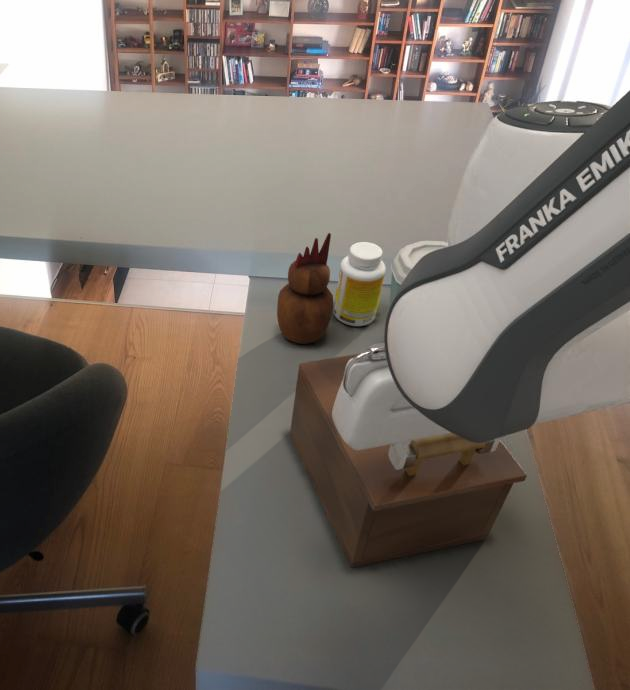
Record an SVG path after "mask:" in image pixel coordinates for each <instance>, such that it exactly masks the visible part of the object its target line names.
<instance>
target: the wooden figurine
mask: <svg viewBox="0 0 630 690" xmlns="http://www.w3.org/2000/svg"><path fill="white" fill-rule="evenodd" d="M331 238H332V234H331V233H330V232H328V233H327V235H326V237H325V239H324V241H323V243H322V245H321V247H320V249H319V239H318V237H315V238H314V241H313V244H312V247H311V250H310V247H309V246H306V247H305V248H304V252H303V254H302V253H301V252H298V254H297V256H296V260H294V261H293V262H292V263H291V264H290V265H289V267H288V271H287V281H288V283H286V284H285V285H284V286H283V287H282V288H281V289H280V290H279V293H278V294H277V295H278V296H277V304H276V305H277V306H276V317H277V323H278V327H279V330H280V333H281V334H282V337H284V338H285V339H286V340H288V341H290V342H292V343H296V344H301V345H302V344H305V345H307V344H313V343H315V342H317V341H319V340H320V339H321V338H322V337H323V336H324V334H325V333H326V331H327V329H328V327H329V325H330V322H331V318H332V314H333V311H334V295H333V293H332V292H331V290H330V289H329V288H328V285H329V283H330V279H331V269H330V267H329V266H328V258H329V251H330V244H331Z"/></svg>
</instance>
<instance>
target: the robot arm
mask: <svg viewBox="0 0 630 690" xmlns="http://www.w3.org/2000/svg"><path fill="white" fill-rule="evenodd" d="M446 239H447V240H446V242H448V247H446V248H442V249H438V250H435V251H432V252H430V253H428V254H426V255H425V256H423V257H422V258H421V259H420V260H419V261H418V262H417V263H416V264H415V266H414V267H413V268H412V269H411V271H410V272H409V273H408V275H407V276H406V278H405V279H404V281H403V283H402V284H401V286H400V287H399V289H398V291H397V293H396V295H395V297H394V299H393V302H392V304H391V306H390V309H389V308H388V312H387V315H386V318H385V324H384V334H383V335H384V336H383V337H384V338H383V339H384V340H383V341H384V342H377V343H374V344H371V345H368V346H367V347H366V350H365V351H362V352H360V353H361V354H360V353H358V354H359V355H357V356H356V357H355V358H352V359H350V360H349V361H348V363H347V365H346V368H345V373H344V378H343V380H342V383H341V385H340V388H339V390H338V393H337V396H336V399H335V403H334V406H333V410H332V419H333V421H334V424H335V426H336V428H337V430H338V432H339V434H340V436H341V437H342V439H343V440H344V442H345V443H346V444H347V445H348V446H350V447H351V448H352V449H353V450H365V449H370V448H375V447H380V446H385V445H390V449H389V453H388V456H389V459H390V461H391V463H392V464H393V466H394V468H395V469H396V470H399V469H403V468H408V467H413V466H414V465H415V463H414V462H415V461H416V458H417V454H416V452H415V450H414V449H413V448H411V444H410V442H411V441H412V440H418V439H423V438H428V437H434V436H439V435H444V434H450V433H453V434H455V435H457V436H459V437H461V438H463V439H466V440H468V441H471V442H475V443H484V442H486V444H485V446H484V447H483V448H478V449H476V451H475V452H476V453H477V454H481V453H487V452H492V451H495V450H496V448H497V446H498V444H499V441H500V440H503V439H504V438H505V437H507V436H510V435H513V434H515V433H519V432H522V431H525V430H528V429H531V428H532V427H533V426H536V425H541V424H544V423H549V422H555V421H558V420H561V419H566V418H570V417H575V416H580V415H584V414H588V413H592V412H597V411H602V410H606V409H610V408H614V407H618V406H619V407H620V406H623V405H627V404H630V89H629V90H628V91H627V92H626V93H625V94H624V95H623V96H622V97H620V99H619V100H618V101H616V102H615V103H614V104H613V105H608V104H604V103H598V102H592V101H584V100H583V101H582V100H576V101H569V100H563V101H562V100H550V101H540V102H535V103H534V102H533V103H528V104H522V105H517V106H513V107H510V108H507V109H506V110H504V111H502V112H500V113H498V114H497V115H495V117H494V118H492V119H491V120H490V121H489V123H488V125H486V127H485V128H484V130H483V132H482V134H481V135H480V137H479V139H478V140H477V143H476V144H475V146H474V148H473V151H472V153H471V155H470V157H469V160H468V162H467V165H466V168H465V170H464V173H463V176H462V178H461V181H460V184H459V187H458V190H457V193H456V196H455V200H454V203H453V206H452V210H451V213H450V217H449V220H448V224H447V228H446Z"/></svg>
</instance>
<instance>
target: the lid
mask: <svg viewBox="0 0 630 690" xmlns="http://www.w3.org/2000/svg"><path fill="white" fill-rule="evenodd" d="M361 353H362V352H360V353H355V354H349V355H343V356H338V357H337V356H336V357H331V358H324V359H319V360H313V361H307V362H302V363H301V362H300V363H299V364H298V370H299V371H300V373H301V374H302V376H303V378H304V380H305V382H306V384H307V386H308V388H309V390H310V392H311V393H312V395H313V397H314V399H315V401H316V403H317V405H318V407H319V409H320V411H321V412H322V414H323V416H324V418H325V420H326V422H327V424H328V426H329V428H330V430H331V431H332V433H333V435H334V437H335V439H336V441H337V443H338V445H339V447H340V449H341V450H342V452H343V454H344V456H345V458H346V460H347V462H348V464H349V466H350V468H351V469H352V471H353V473H354V475H355V477H356V479H357V481H358V483H359V485H360V487H361V488H362V490H363V492H364V494H365V496H366V498H367V500H368V502H369V504H370V506H371V507H372V509H373V511H378V510H383V509H388V508H393V507H398V506H403V505H408V504H413V503H418V502H422V501H427V500H432V499H437V498H442V497H447V496H452V495H457V494H462V493H467V492H472V491H477V490H482V489H487V488H492V487H497V486H502V485H507V484H511V483H513V484H515V483H521V482H525V481H526V479H527V476H528V474H527V473H526V472H525V470H524V469H523V468H522V466H521V465H520V463H518V461H517V459H515V457H514V455H512V453H511V452H510V450H508V448H507V447H506V445H505V444H504V443H503V441H502V439H500V441H499V444H498V446H497V448H496V450H495V451H492V452H487V453H481V454H477V453H476V452H475V451H476V449H478V448H483V447H484V446H485V444H486V442H484V443H475V442H471V441H468V440H466V439H463V438H461V437H459V436H457V435H455V434H453V433H450V434H444V435H439V436H434V437H428V438H423V439H418V440H412V441H411V442H410V444H411V448H413V449H414V450H415V452H416V454H417V458H416V461H415V462H414V463H415V465H414V466H413V467H408V468H403V469H399V470H396V469H395V468H394V466H393V464H392V463H391V461H390V459H389V456H388V453H389V449H390V445H385V446H380V447H375V448H370V449H365V450H353V449H352V448H351V447H350V446H348V445H347V444H346V443H345V442H344V440H343V439H342V437H341V436H340V434H339V432H338V430H337V428H336V426H335V424H334V421H333V419H332V410H333V406H334V403H335V399H336V396H337V393H338V390H339V388H340V385H341V383H342V380H343V378H344V373H345V368H346V365H347V363H348V361H349V360H350V359H352V358H355V357H356V356H357V355H359V354H361Z"/></svg>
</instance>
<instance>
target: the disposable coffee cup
mask: <svg viewBox="0 0 630 690" xmlns="http://www.w3.org/2000/svg"><path fill="white" fill-rule="evenodd" d="M446 247H448V242H447V241H444V240H419V241H417V242H414V243H410V244H406V245H405V246H404V247H402V248H400V249H399V251H398V253H397V254H396V256H395V257H394V259H393V261H392V263H391V265H390V269H391V278H390V281H391V282H390V290H389V292H390V293H389V302H388V303H389V305H388V310H389V309H390V306H391V304H392V302H393V299H394V297H395V295H396V293H397V291H398V289H399V287H400V286H401V284H402V283H403V281H404V279H405V278H406V276H407V275H408V273H409V272H410V271H411V269H412V268H413V267H414V266H415V264H416V263H417V262H418V261H419V260H420V259H421V258H422V257H423V256H425V255H426V254H428V253H430V252H432V251H435V250H438V249H442V248H446Z"/></svg>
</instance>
